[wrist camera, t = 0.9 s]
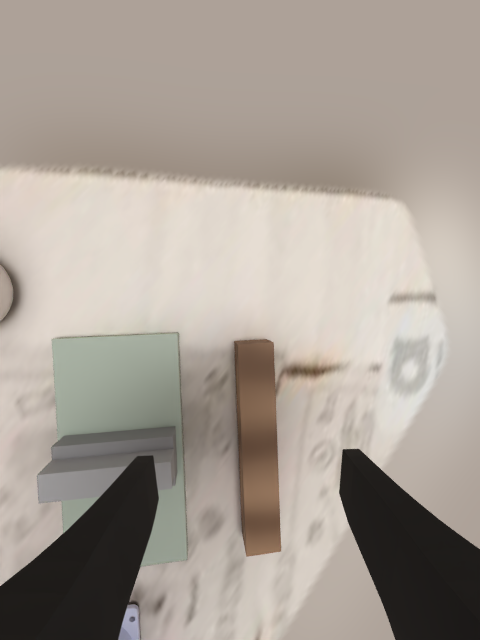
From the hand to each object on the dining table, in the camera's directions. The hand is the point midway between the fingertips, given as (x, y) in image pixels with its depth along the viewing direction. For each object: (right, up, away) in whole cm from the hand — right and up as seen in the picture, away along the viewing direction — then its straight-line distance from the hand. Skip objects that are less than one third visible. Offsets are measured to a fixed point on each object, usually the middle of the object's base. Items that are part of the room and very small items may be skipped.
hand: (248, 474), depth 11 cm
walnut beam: (+1, -5, +16) cm, 17 cm away
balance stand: (-10, -5, +14) cm, 19 cm away
